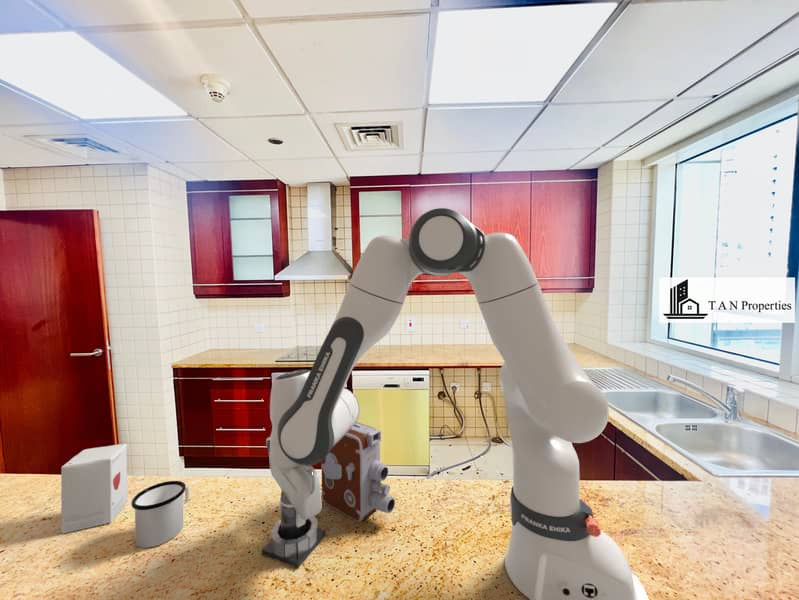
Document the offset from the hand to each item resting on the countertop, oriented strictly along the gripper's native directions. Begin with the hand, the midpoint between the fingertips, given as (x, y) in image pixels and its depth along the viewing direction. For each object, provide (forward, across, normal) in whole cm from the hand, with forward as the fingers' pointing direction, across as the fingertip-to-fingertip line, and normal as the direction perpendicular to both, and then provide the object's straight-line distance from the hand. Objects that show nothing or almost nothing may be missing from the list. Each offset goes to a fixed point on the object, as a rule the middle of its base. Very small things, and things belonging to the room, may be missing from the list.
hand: (294, 515), depth 65 cm
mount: (+6, 0, 0) cm, 6 cm away
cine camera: (+6, +1, -16) cm, 17 cm away
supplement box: (+6, +38, +33) cm, 51 cm away
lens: (+3, 0, 0) cm, 3 cm away
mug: (+6, +22, +21) cm, 31 cm away
